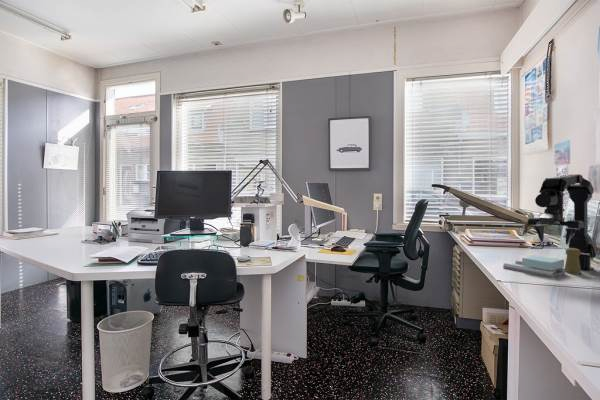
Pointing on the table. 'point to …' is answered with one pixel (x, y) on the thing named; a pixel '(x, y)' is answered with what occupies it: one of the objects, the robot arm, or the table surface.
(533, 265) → the cover
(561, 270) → the board
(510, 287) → the table surface
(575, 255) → the cork
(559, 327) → the table surface
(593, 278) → the table surface
